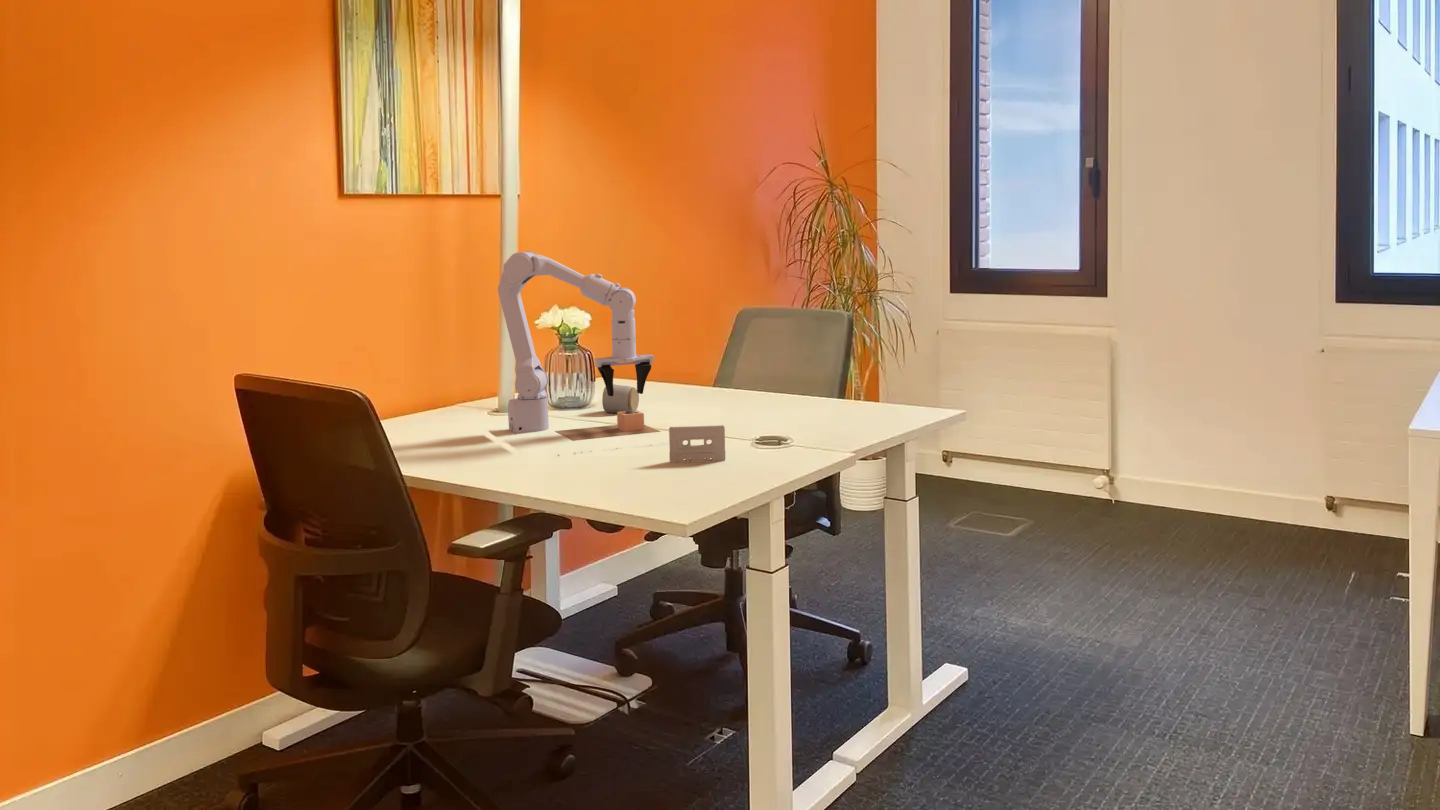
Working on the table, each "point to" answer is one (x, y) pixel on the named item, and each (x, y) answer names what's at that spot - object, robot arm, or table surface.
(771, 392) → the table surface
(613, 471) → the table surface
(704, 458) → the cassette
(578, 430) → the plate
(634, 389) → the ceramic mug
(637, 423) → the collar
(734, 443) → the table surface
